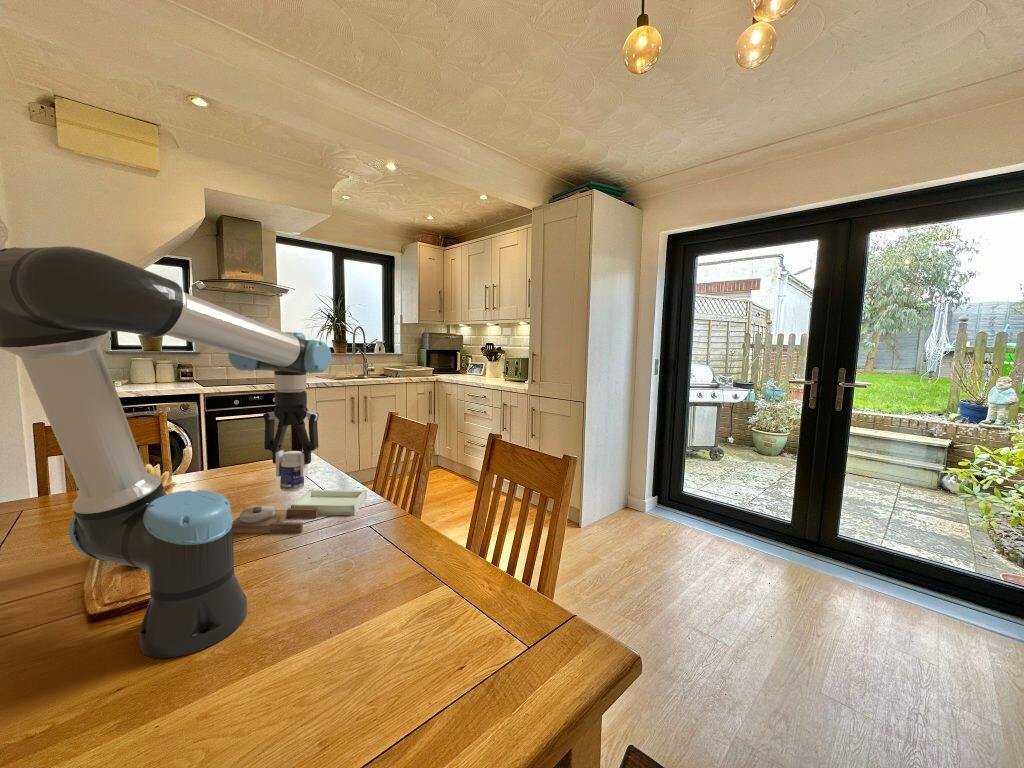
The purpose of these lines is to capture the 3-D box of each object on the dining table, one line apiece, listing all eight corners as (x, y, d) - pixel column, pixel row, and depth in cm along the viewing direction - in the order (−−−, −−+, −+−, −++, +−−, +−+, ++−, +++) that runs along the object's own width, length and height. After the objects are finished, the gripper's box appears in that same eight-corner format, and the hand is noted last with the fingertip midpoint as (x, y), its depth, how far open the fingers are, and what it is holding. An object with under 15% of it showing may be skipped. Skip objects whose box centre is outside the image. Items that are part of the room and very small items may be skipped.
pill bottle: (297, 492, 108) (297, 456, 107) (275, 491, 108) (275, 455, 107) (308, 485, 114) (308, 450, 113) (287, 484, 114) (288, 449, 113)
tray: (354, 515, 119) (353, 505, 118) (291, 515, 118) (290, 505, 118) (366, 499, 131) (366, 490, 130) (309, 498, 130) (309, 489, 129)
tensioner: (301, 533, 107) (300, 516, 107) (227, 532, 106) (226, 515, 106) (317, 516, 117) (317, 501, 117) (250, 516, 116) (249, 500, 116)
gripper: (332, 389, 112) (332, 471, 114) (262, 388, 111) (264, 470, 113) (320, 393, 105) (321, 480, 107) (246, 391, 104) (248, 479, 106)
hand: (292, 475), depth 110 cm, fingers closed on pill bottle, 6 cm apart
